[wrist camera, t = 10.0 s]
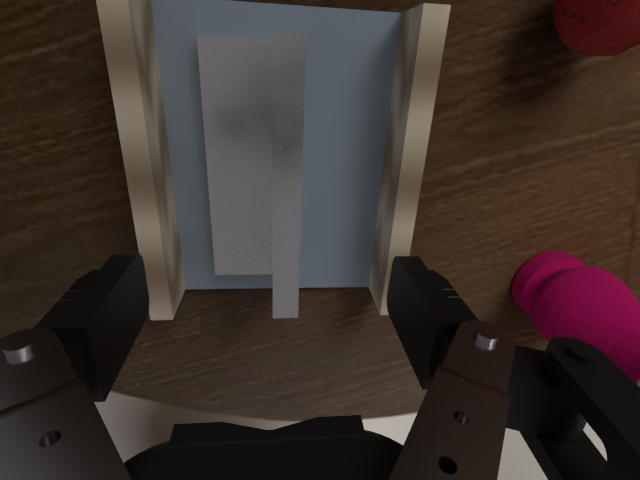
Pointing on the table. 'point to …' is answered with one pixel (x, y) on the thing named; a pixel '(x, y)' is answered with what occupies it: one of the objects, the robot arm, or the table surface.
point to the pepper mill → (581, 306)
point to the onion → (598, 25)
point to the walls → (154, 160)
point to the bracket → (255, 156)
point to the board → (318, 137)
